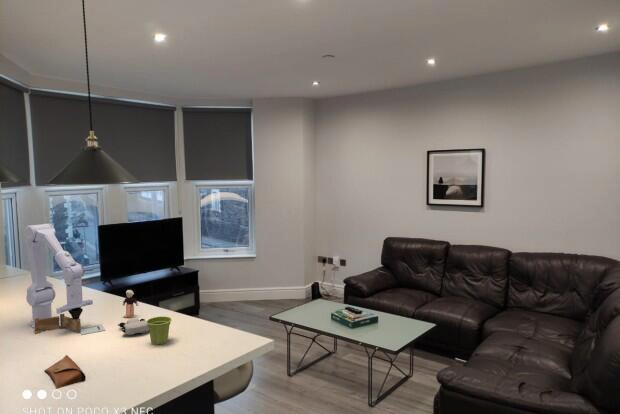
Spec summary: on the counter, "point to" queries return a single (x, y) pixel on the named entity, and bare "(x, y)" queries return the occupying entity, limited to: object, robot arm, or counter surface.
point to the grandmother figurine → (129, 304)
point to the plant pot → (159, 329)
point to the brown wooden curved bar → (70, 323)
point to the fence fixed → (47, 324)
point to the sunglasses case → (65, 372)
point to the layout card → (92, 329)
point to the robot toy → (134, 326)
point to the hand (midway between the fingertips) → (76, 325)
